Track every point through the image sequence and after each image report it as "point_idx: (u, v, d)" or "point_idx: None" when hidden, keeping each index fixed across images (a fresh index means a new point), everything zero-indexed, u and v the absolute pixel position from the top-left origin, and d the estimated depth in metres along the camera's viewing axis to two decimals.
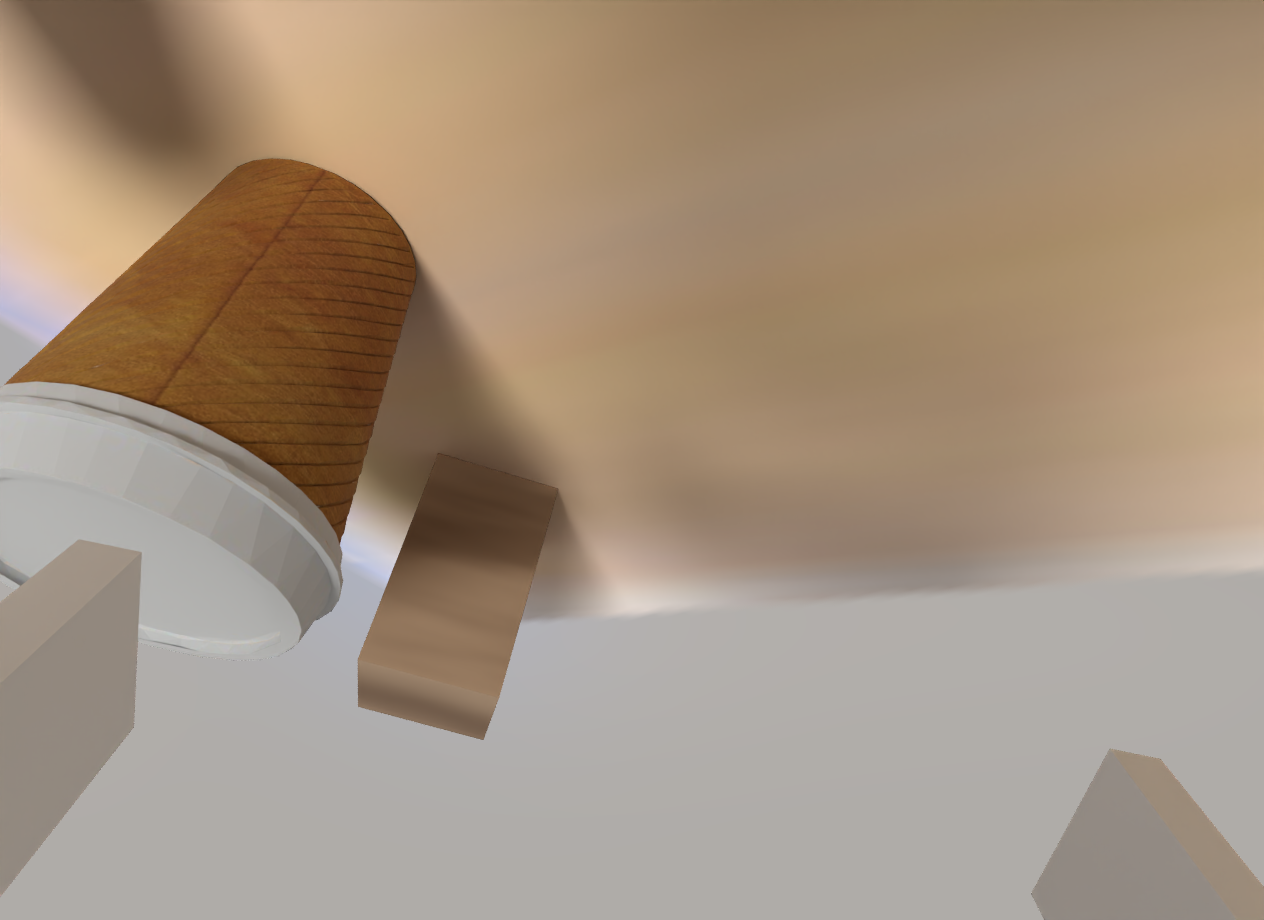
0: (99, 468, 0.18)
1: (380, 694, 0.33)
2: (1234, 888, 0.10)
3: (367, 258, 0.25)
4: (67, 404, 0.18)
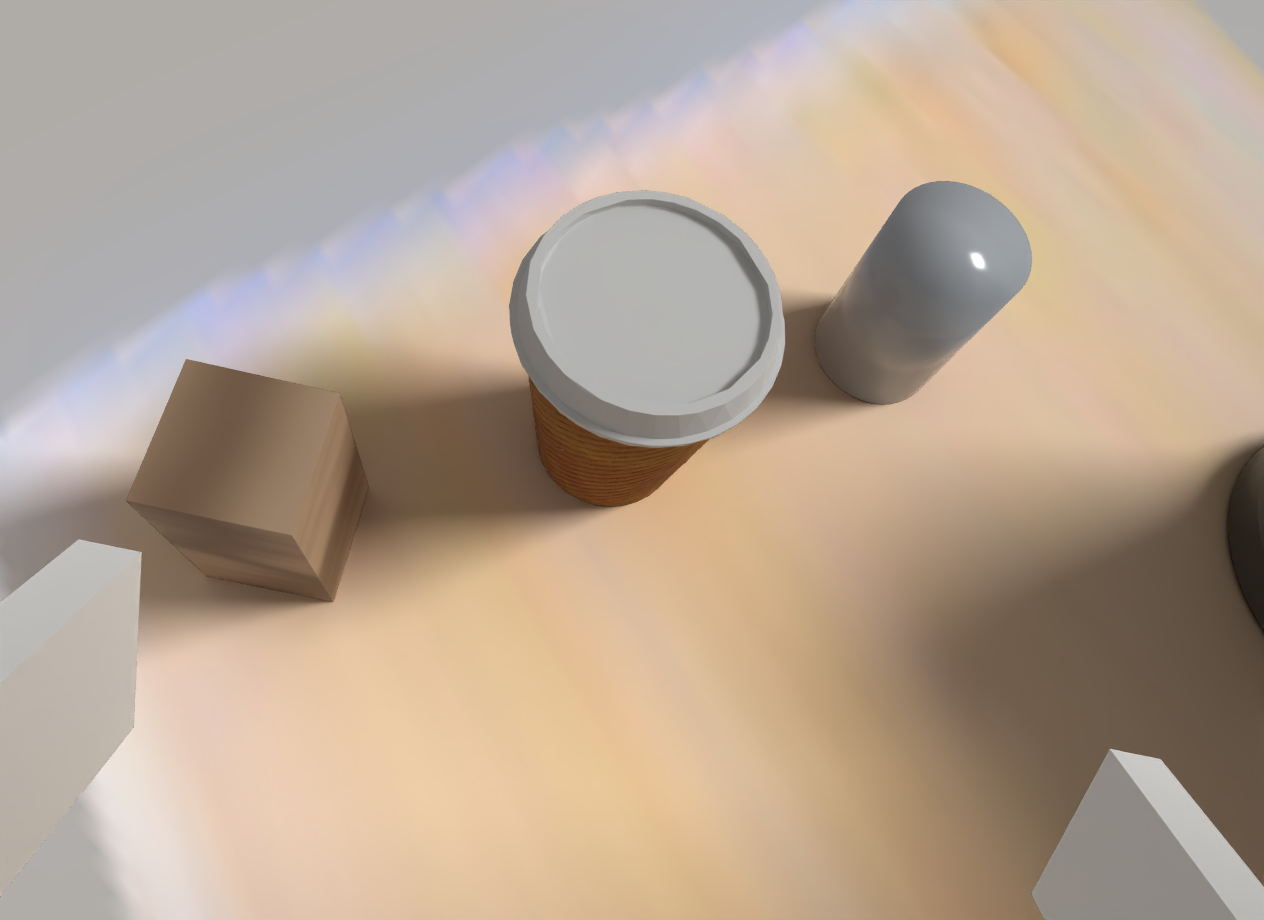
0: (779, 341, 0.30)
1: (241, 395, 0.29)
2: (1234, 888, 0.10)
3: (659, 482, 0.38)
4: None
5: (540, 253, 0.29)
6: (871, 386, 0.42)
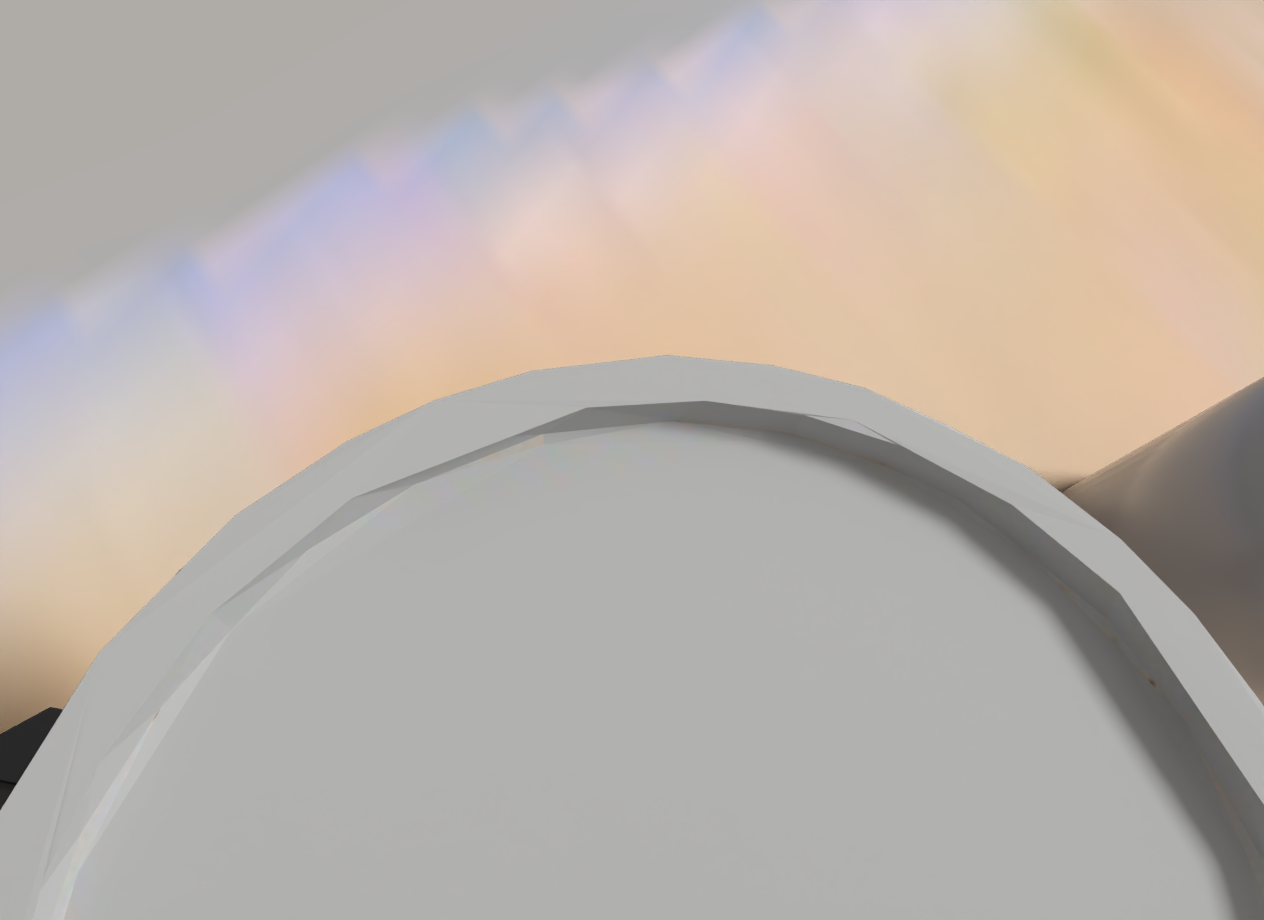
0: None
1: None
2: None
3: None
4: None
5: (49, 781, 0.05)
6: None
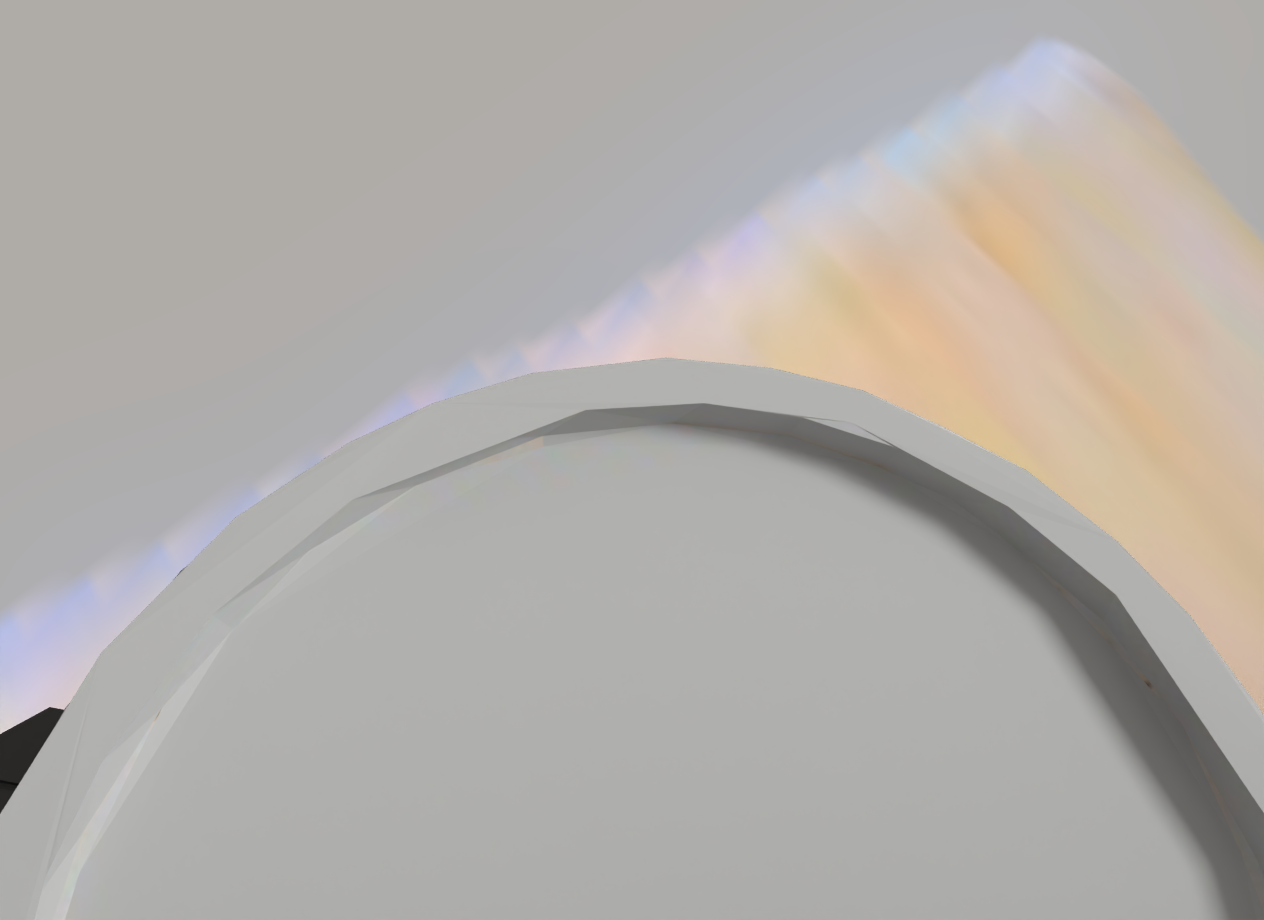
0: None
1: None
2: None
3: None
4: None
5: (53, 781, 0.05)
6: None
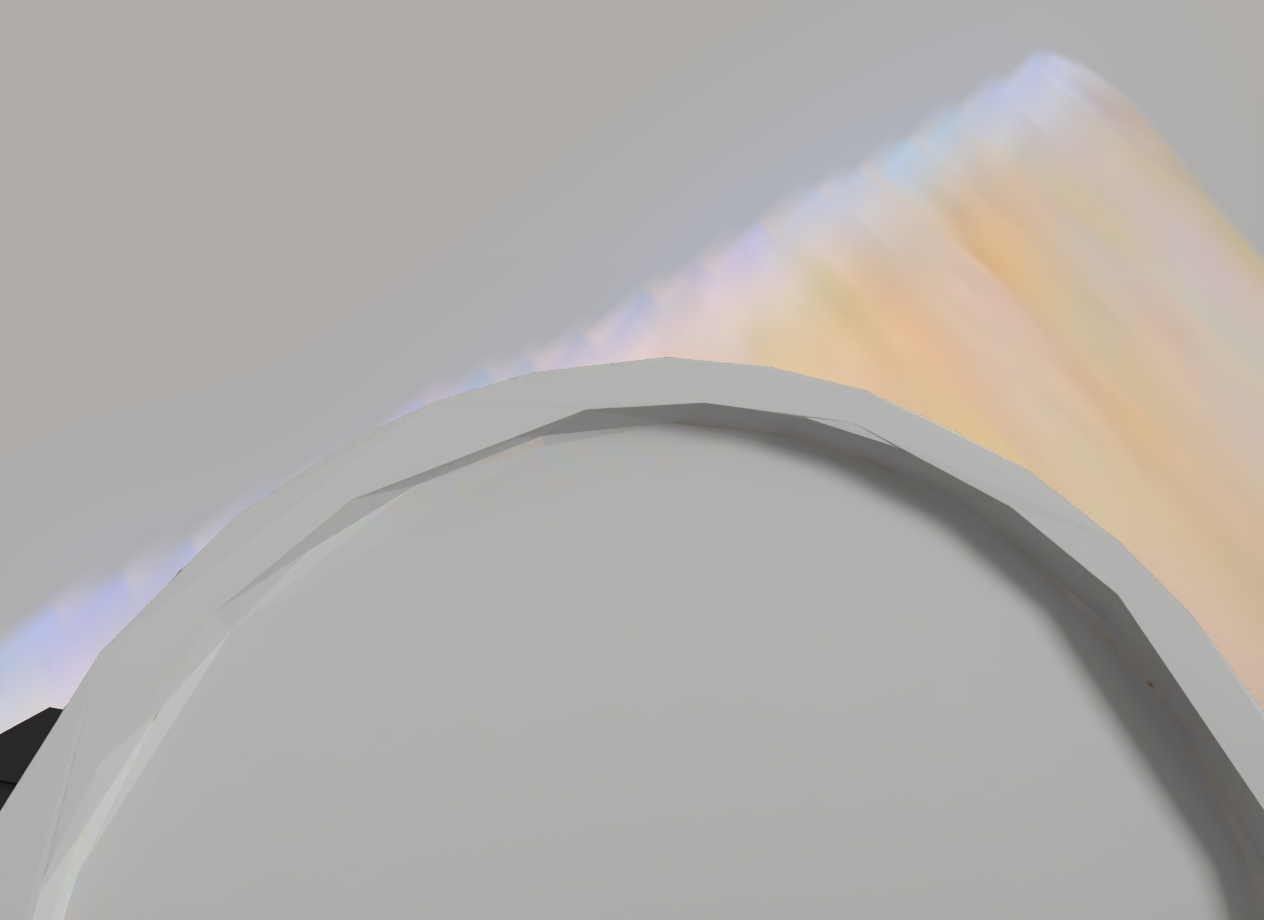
0: None
1: None
2: None
3: None
4: None
5: (50, 782, 0.05)
6: None
